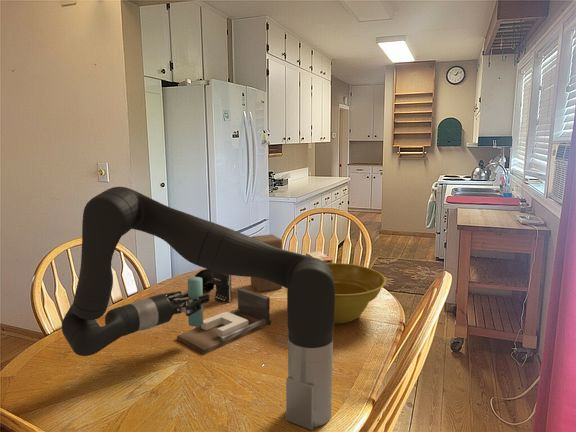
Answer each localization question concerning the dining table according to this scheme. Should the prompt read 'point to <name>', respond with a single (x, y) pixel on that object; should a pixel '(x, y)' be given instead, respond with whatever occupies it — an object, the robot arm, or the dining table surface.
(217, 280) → the battery charger
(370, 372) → the dining table surface
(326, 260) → the stack of blocks
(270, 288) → the block
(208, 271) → the black flared cup shape
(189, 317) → the dowel
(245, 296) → the rail base
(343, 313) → the planter bowl
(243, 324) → the carriage
